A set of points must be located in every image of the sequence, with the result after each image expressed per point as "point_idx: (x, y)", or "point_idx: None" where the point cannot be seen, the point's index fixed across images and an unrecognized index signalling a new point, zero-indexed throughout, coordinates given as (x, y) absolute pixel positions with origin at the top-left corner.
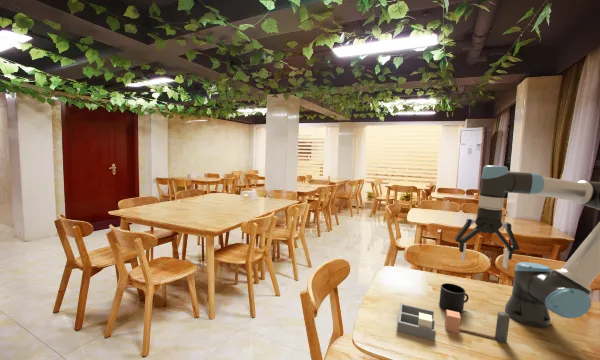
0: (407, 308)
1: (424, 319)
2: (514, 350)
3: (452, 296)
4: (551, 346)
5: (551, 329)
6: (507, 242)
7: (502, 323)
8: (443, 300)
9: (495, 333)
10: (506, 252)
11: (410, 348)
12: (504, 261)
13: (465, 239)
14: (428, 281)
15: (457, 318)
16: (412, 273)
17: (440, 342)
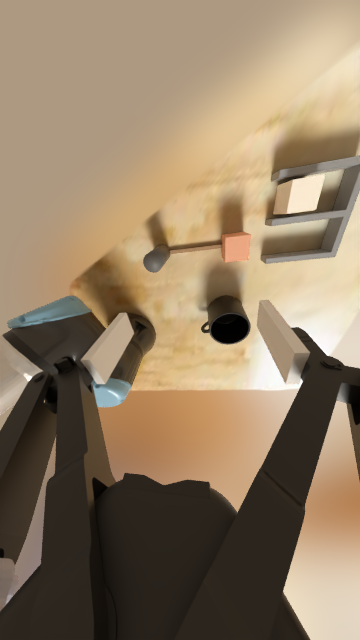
0: (315, 252)
1: (311, 177)
2: (146, 233)
3: (231, 308)
4: (106, 275)
5: (109, 317)
6: (60, 403)
7: (156, 250)
8: (241, 306)
9: (168, 253)
10: (96, 354)
11: (341, 88)
12: (120, 332)
13: (329, 387)
14: (247, 368)
15: (231, 236)
16: (268, 381)
17: (261, 174)
